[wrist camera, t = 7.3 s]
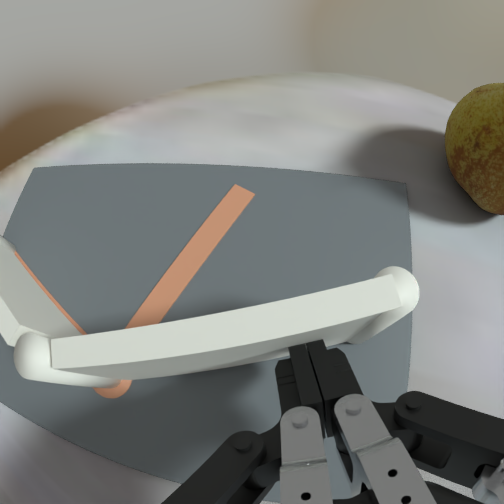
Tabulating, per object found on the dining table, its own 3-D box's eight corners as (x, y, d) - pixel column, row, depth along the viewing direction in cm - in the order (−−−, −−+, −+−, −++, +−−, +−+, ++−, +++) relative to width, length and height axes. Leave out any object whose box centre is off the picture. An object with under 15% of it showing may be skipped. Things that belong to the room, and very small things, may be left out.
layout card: (-31, 378, 18) (-35, 377, 17) (36, 170, 25) (33, 167, 25) (384, 503, 13) (386, 506, 12) (404, 186, 21) (406, 182, 20)
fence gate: (129, 385, 16) (52, 376, 10) (125, 355, 17) (50, 331, 11) (375, 339, 16) (426, 307, 10) (366, 308, 17) (411, 260, 11)
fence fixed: (132, 370, 17) (51, 353, 10) (115, 395, 17) (30, 389, 10) (13, 242, 22) (-45, 197, 15) (1, 260, 22) (-59, 219, 15)
